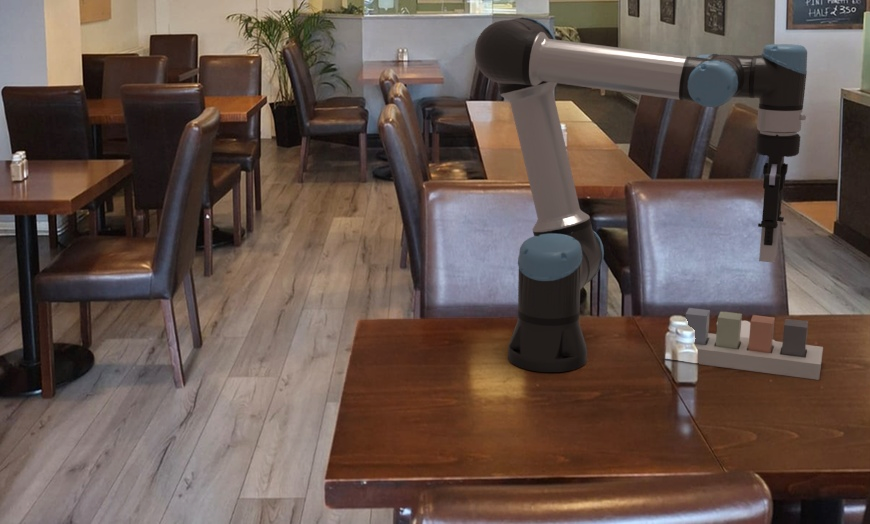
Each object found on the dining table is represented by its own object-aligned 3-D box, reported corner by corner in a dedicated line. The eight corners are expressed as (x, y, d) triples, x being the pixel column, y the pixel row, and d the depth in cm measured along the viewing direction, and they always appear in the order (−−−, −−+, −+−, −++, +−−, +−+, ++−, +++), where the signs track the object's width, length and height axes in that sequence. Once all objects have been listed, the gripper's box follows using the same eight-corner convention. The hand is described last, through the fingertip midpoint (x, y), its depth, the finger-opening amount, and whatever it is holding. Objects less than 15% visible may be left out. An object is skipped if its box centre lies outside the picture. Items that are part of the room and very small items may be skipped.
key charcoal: (781, 355, 194) (784, 325, 192) (783, 348, 198) (785, 318, 196) (804, 358, 192) (807, 327, 191) (805, 351, 196) (808, 321, 194)
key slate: (683, 343, 201) (685, 313, 199) (687, 336, 204) (688, 307, 203) (704, 346, 199) (706, 316, 197) (707, 339, 203) (709, 310, 201)
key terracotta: (748, 351, 196) (750, 321, 195) (750, 344, 200) (752, 315, 198) (770, 354, 195) (772, 323, 193) (772, 347, 198) (774, 317, 197)
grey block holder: (664, 359, 200) (665, 344, 199) (673, 343, 209) (674, 329, 208) (819, 379, 189) (820, 364, 189) (821, 361, 198) (823, 346, 198)
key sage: (715, 347, 198) (717, 317, 197) (718, 340, 202) (720, 311, 200) (737, 350, 197) (739, 319, 195) (739, 343, 200) (741, 313, 199)
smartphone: (746, 346, 206) (714, 322, 220) (745, 350, 206) (714, 325, 220) (780, 344, 207) (747, 320, 221) (780, 348, 207) (746, 323, 221)
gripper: (797, 140, 178) (785, 272, 184) (803, 127, 192) (792, 250, 198) (752, 137, 180) (741, 267, 187) (761, 125, 195) (751, 246, 201)
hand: (767, 258), depth 192 cm, fingers open, 3 cm apart
